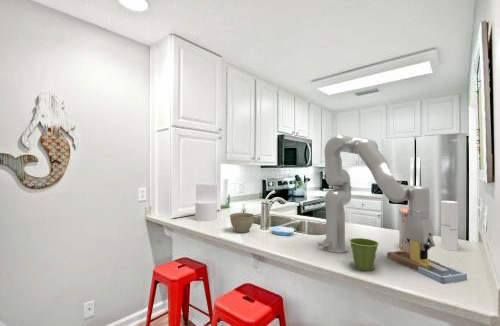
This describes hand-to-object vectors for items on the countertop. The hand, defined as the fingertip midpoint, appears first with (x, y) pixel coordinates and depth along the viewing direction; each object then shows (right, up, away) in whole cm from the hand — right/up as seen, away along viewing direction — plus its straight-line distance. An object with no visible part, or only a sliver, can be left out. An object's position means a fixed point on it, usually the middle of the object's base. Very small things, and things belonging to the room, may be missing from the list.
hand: (418, 256), depth 108 cm
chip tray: (+3, -5, -10) cm, 11 cm away
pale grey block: (+2, -4, -7) cm, 8 cm away
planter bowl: (-78, -5, +60) cm, 99 cm away
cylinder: (-109, -5, +97) cm, 146 cm away
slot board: (-1, -5, +3) cm, 6 cm away
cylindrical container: (+34, -5, +26) cm, 43 cm away
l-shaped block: (0, -4, -2) cm, 4 cm away
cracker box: (+10, -5, +24) cm, 26 cm away
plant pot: (-23, -5, +1) cm, 24 cm away
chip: (+3, -4, -10) cm, 11 cm away
